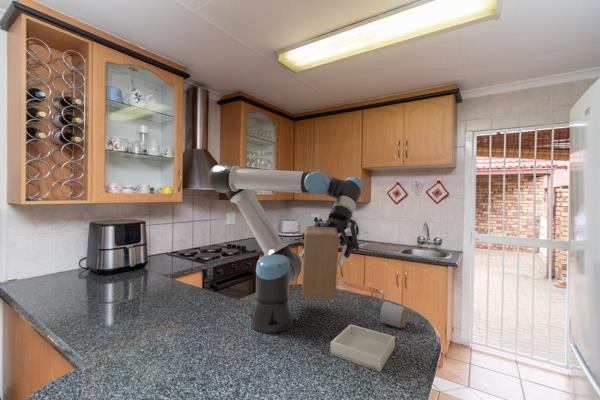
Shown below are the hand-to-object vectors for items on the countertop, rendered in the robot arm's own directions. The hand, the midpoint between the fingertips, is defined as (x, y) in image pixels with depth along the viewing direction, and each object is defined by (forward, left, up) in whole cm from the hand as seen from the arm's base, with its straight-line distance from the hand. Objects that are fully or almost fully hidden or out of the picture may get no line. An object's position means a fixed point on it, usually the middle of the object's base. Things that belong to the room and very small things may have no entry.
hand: (320, 261), depth 90 cm
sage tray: (+14, +3, -25) cm, 29 cm away
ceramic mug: (+16, +28, -26) cm, 41 cm away
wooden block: (-1, 0, -10) cm, 10 cm away
